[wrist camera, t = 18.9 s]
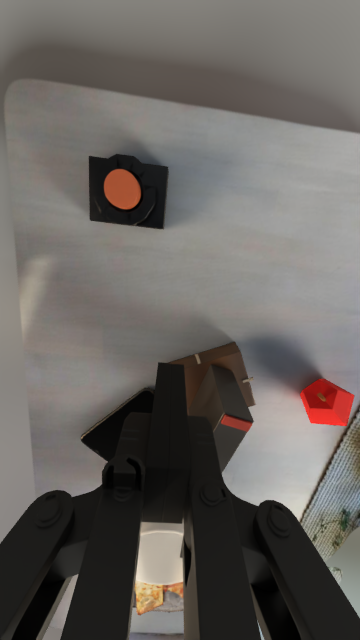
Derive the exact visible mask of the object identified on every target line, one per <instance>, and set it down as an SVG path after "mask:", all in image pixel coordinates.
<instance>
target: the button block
mask: <svg viewBox="0 0 360 640" xmlns="http://www.w3.org/2000/svg"><path fill="white" fill-rule="evenodd" d="M116 169H124V170H127V171H129V172H130V173H131V174H132V175H133V176H134V177H135V179H136V180H137V181H138V183H139V185H140V188H141V197H140V200H139V202H138V204H137V205H136V206H135V207H133V208H131V209H127V210H125V209H121V208H119V207H116V206H114V205H113V204H112V203H111V202H110V201H109V200H108V199H107V197H106V195H105V191H104V182H105V179H106V177H107V175H108V174H109V173H110V172H112V171H113V170H116ZM168 175H169V171H168V167H166V166H158V165H151V164H144V163H141V162H140V161H139V160H138V159H137V158H135V157H134V156H127V155H120V154H116V155H114V156H112V157H110V158H108V159H107V158H99V157H92V156H89V196H90V220H91V221H97V222H105V223H113V224H120V225H129V226H138V227H146V228H154V229H164V222H165V210H166V199H167V187H168Z"/></svg>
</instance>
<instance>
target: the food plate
mask: <svg viewBox="0 0 360 640" xmlns="http://www.w3.org/2000/svg"><path fill="white" fill-rule="evenodd" d="M133 607H136V608H137V613H138V615H141V614H143V613H145V612H149V611H163V612H174V611H183V610H184V606H183V582H180V583H175V584H170V585H154V584H147V583H144V582H140V581H135V590H134V599H133Z"/></svg>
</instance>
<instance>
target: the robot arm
mask: <svg viewBox="0 0 360 640" xmlns="http://www.w3.org/2000/svg"><path fill="white" fill-rule="evenodd" d="M142 522H152V523H174V524H182V523H183V522H184V535H183V540H182V546H181V552H180V558H182V561H183V606H184V640H261V636H260V631H259V627H258V623H259V626H260V628H261V631H262V634H263V637H264V639H265V640H360V618H359V617H358V615H357V613H356V612H355V610H354V608H353V607H352V605H351V604H350V602H349V600H348V599H347V597H346V596H345V594H344V593H343V591H342V589H341V588H340V586H339V585H338V583H337V581H336V580H335V578H334V577H333V575H332V574H331V572H330V570H329V569H328V567H327V566H326V564H325V562H324V561H323V559H322V558H321V556H320V554H319V553H318V551H317V550H316V548H315V547H314V545H313V543H312V542H311V540H310V539H309V537H308V535H307V534H306V532H305V531H304V529H303V528H302V526H301V524H300V523H299V521H298V520H297V518H296V517H295V516H294V514H293V513H292V512H291V511H290V510H289V509H288V508H287V507H286V506H284V505H283V504H281V503H279V502H276V501H274V500H266V501H264V502H262V503H260V505H259V507H258V506H256V505H253V504H251V503H248V502H246V501H243V500H241V499H239V498H238V497H236V496H235V495H234V494H232V493H231V492H230V491H229V489H228V488H227V487H226V485H225V483H224V481H223V478H222V474H221V469H220V464H219V459H218V454H217V448H216V445H215V438H214V433H213V428H212V425H211V423H210V422H209V420H208V419H207V417H203V416H189V415H188V413H187V399H186V385H185V371H184V365H182V364H170V363H158V370H157V378H156V386H155V394H154V402H153V410H152V414H151V413H137V412H131V413H130V414H129V415H128V416H127V418H126V419H125V420H124V424H123V427H122V432H121V435H120V439H119V442H118V446H117V450H116V453H115V457H114V458H112V459H111V460H110V461H109V462H108V463H107V464H106V465H105V467H104V469H103V471H102V485H101V486H100V487H98V488H97V489H95V490H94V491H91V492H89V493H86V494H82V495H79V496H75V497H71V495H70V494H69V493H67V492H65V491H61V490H54V491H51V492H47V493H45V494H43V495H42V496H40V497H38V498H37V499H36V500H35V501H34V502H33V503H32V504H31V505H30V506H29V507H28V509H27V510H26V511H25V513H24V514H23V515H22V516H21V518H20V519H19V520H18V521H17V523H16V524H15V525H14V527H13V528H12V529H11V531H10V532H9V533H8V534H7V536H6V537H5V538H4V540H3V541H2V542H1V544H0V640H42V638H43V636H44V634H45V632H46V630H47V628H48V626H49V624H50V622H51V620H52V618H53V616H54V614H55V612H56V610H57V607H58V605H59V603H60V601H61V599H62V597H63V595H64V593H65V591H66V589H67V587H68V585H69V583H70V581H71V578H72V576H74V575H77V574H79V575H78V579H77V582H76V586H75V589H74V593H73V596H72V600H71V604H70V607H69V611H68V614H67V618H66V621H65V625H64V628H63V632H62V636H61V639H60V640H129V635H130V626H131V617H132V608H133V599H134V590H135V581H136V572H137V563H138V554H139V545H140V533H141V524H142ZM257 620H258V622H257Z"/></svg>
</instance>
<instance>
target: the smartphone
mask: <svg viewBox="0 0 360 640" xmlns="http://www.w3.org/2000/svg"><path fill="white" fill-rule="evenodd" d="M154 394H155V392H154V391H153V390H151V389H150V388H144V389H142V390H141V391H139V392H138V393H137V394H135V395H134V396H133V397H131V398H130V399H129V400H127V401H126V402H125V403H123V404H122V405H121V406H119V407H118V408H117V409H116V410H114V411H113V412H112V413H110V414H109V415H108V416H106V417H105V418H104V419H102V420H101V421H100V422H98V423H97V424H96V425H94V426H93V427H92V428H91V429H89V430H88V431H87V432H85V433H84V434H83V435H82V436H81V441H82V443H84V444H85V445H86V446H88V447H89V448H90V449H92V450H93V451H94V452H95V453H97V454H98V455H99V456H101V457H102V458H103V459H105V460H106V461H108V462H109V461H110V460H111V459H112V458H114V457H115V453H116V450H117V446H118V442H119V439H120V435H121V432H122V427H123V424H124V420H125V419H126V418H127V416H128V415H129V414H130V413H131V412H137V413H151V414H152V410H153V402H154Z"/></svg>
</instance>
